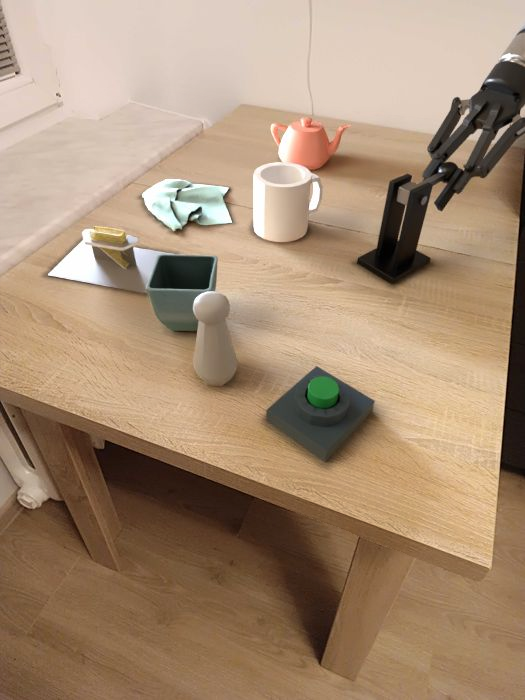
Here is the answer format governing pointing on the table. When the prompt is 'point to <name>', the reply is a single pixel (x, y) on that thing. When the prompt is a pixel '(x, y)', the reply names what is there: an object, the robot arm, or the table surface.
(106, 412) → the table surface
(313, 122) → the teapot
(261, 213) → the mug
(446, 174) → the lever
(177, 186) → the cloth
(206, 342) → the salt shaker
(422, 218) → the switch bracket
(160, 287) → the flower pot
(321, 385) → the button
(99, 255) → the platform
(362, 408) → the control block
